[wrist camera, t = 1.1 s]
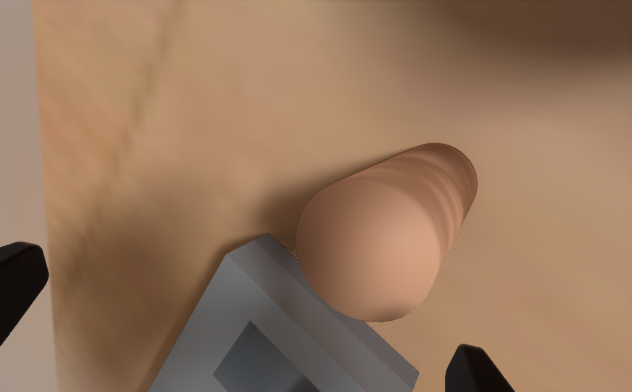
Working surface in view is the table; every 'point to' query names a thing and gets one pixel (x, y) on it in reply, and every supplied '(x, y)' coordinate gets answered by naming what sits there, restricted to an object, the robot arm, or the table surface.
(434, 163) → the pin
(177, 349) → the hole board
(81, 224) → the table surface
